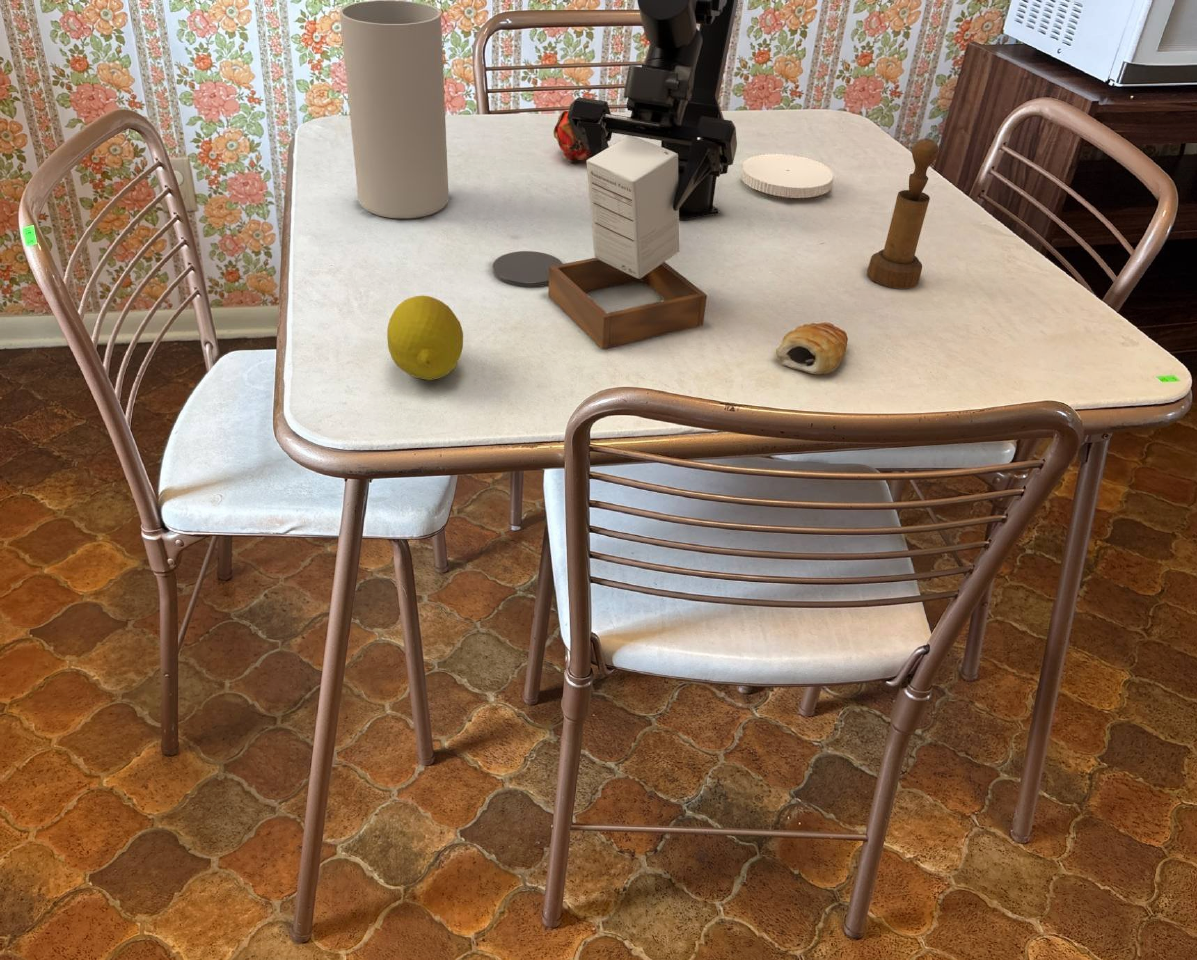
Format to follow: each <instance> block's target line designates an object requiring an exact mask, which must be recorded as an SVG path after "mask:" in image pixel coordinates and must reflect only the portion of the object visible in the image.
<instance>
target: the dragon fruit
mask: <svg viewBox="0 0 1197 960" xmlns="http://www.w3.org/2000/svg"><path fill="white" fill-rule="evenodd" d="M568 113H569V110H564V111H563V112H561V113H560V114H559V116H558V117H557V122H556V124H555V126H554V128H553V138H555V139H556V141H557V144H558V146H559V148H560V150H561V151H562V152H563V155H564V156H565V159H566V161H568V163H572V164H574V162H578V161H582V160H583V161H587V160H588V159H590V151H589V149H586V148H585V147H584V144H583V142H581V141H579V140H577V139H576V137H575V135H574V132H573V130H572V128H571V125H570V123H569V121H568V118H567V116H568Z"/></svg>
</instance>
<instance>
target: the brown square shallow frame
mask: <svg viewBox="0 0 1197 960" xmlns="http://www.w3.org/2000/svg"><path fill="white" fill-rule="evenodd" d="M641 281H642V282H643V283H644V284H645V285H647V286H648V287H649V288H651V289H652V290H653V291H654V292H655V293H657V294H658V295H659V296H660V297H661V298H662V299H663V300H662V301H657V302H652V303H648V304H643V305H638V306H634V307H630V308H629V307H628V308H625V309H621V310H616V311H611V312H607V311H605V310H604V309H603V308H602V307H601V306H600V305H599V304H598V303H597V302H596V301H594V299H592V298H591V296H589V295H588V294H587V293H588V292H592V291H599V290H603V289H607V288H613V287H617V286H622V285H627V284H631V283H636V282H641ZM547 293H548V295H547V296H548V298H549V299H550V300H551V301H552V302H553V303H554V304H555V305H556V306H557V307H559V309H561V311H562V312H563V313H564V314H566V315H567V316H568V317H569V319H571V320H572V321H573V322H574V323H575V324H576V325H577V326H578V327H579V328H580V329H581V330H582V331H583V332H584V333H585V334H586V335H587V336H588V337H589V338H591V340H592V341H594V343H595V344H596V345H597V346H599V348H601V349H602V350H604V349H609V348H612V347H616V346H622V345H625V344H629V343H633V342H639V341H642V340H646V339H651V338H655V337H656V338H657V337H660V336H664V335H668V334H673V333H677V332H681V331H685V330H689V329H694V328H697V327H702V326H704V322H705V315H706V308H707V299H708V294H706V293H705V292H704V291H703V290H701V289H700V288H699V287H697V286H696V285H695V284H694V283H693V282H691V281H690V280H688V279H687V278H686V277H685V276H683V275H682V274H681V273H680V272H678V271H677V270H676V269H674V268H673V267H672V266H671V265H669V264H668V263H667V262H666V261H665V262H663V263H662V264H660V265H659V266H658V267H656V268H655V269H653V270H652V271H650V272H649V273H648V274H646V275H645V276H643V277H642V278H641V279H638V278H636V277H633V276H631V275H629V274H627V273H625V272H623V271H621V270H619V269H617V268H615V267H613V266H611V265H609V264H607V263H605V262H603V261H601V260H599V259H597V258H596V257H591V258H587V259H582V260H577V261H576V260H575V261H571V262H565V263H563V264H560V265H554V266H549V285H548V292H547Z"/></svg>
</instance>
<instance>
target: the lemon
mask: <svg viewBox="0 0 1197 960" xmlns="http://www.w3.org/2000/svg"><path fill="white" fill-rule="evenodd" d="M386 333H387V335H386V337H387V338H386V339H387V347H388V351H389V354H390V357H391V359H392V360H393V362H394V363H395V364H396V366H397V367H398V368H399V369H400V370H401V371H403V372H405V373H406V374H408V375H409V376H412V377H415V378H418V379H421V380H426V381H427V380H428V381H432V380H438V379H440V378H443V377H445V376H446V375H448V374H449V373H451V372H452V371H453V369H454V368H455V367H456V365H457V364H458V362H459V361H460V358H461V355H462V352H463V347H464V331H463V327H462V325H461V322H460V320H459V318H458V317H457V316H456V314H455V313H454V311H453V310H452V309H451V307H449V306H448V305H447V304H446V303H445V302H443V301H442V300H439V299H437V298H435V297H433V296H429V295H416V296H412V297H408V298H407V299H404V300H403V301H402V302H400V303H399V304H398V305H396V308H395V309H394V310H393V312H392V314H391V316H390V318H389V321H388V325H387V332H386Z"/></svg>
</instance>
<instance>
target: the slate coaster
mask: <svg viewBox="0 0 1197 960" xmlns="http://www.w3.org/2000/svg"><path fill="white" fill-rule="evenodd" d="M560 264H564V263H563V262H562V261H561V260H560V259H558V258H557V257H556V256H554V255H551V254H549V253H546V252H540V251H533V250H522V251H513V252H508V253H505V254H503V255H501V256H499V257H497V258H496V259H495V260H494V261H493V263H492V273H493V275H494V276H495V278H497V279H498V280H499V281H501V282H503V283H505V284H508V285H511V286H516V287H522V288H538V287H539V288H540V287H544V286H549V266H554V265H560Z"/></svg>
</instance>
